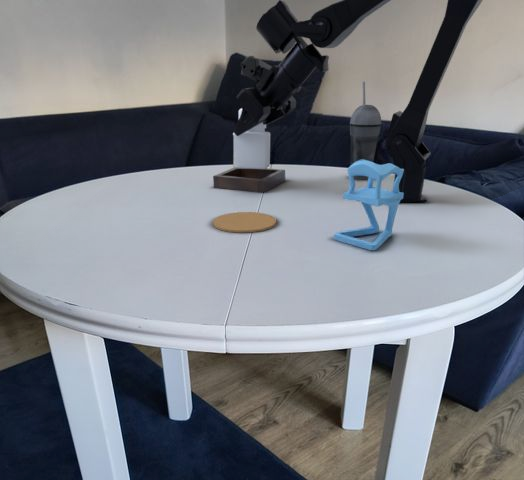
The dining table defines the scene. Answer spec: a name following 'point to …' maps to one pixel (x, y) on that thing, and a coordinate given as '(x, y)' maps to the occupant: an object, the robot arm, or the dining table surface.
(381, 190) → the chair
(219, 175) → the bottle holder
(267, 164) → the medicine bottle
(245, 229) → the cork coaster
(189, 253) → the dining table surface
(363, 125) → the beverage cup
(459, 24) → the robot arm
